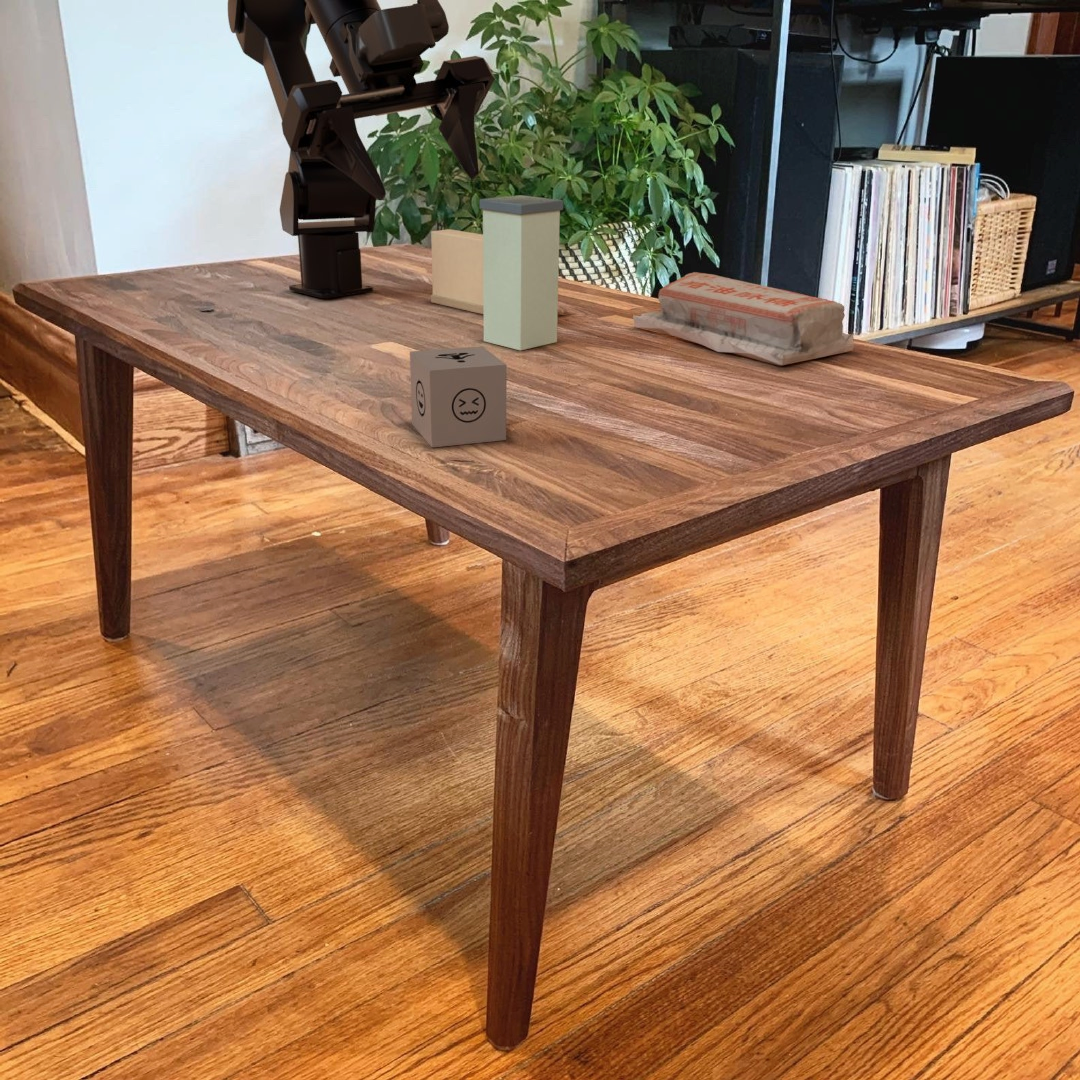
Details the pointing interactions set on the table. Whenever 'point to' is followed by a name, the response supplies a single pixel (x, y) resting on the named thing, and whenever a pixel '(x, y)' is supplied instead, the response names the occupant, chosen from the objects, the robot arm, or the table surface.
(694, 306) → the packaged product
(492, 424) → the dice cube
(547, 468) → the table surface
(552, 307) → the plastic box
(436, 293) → the wall
